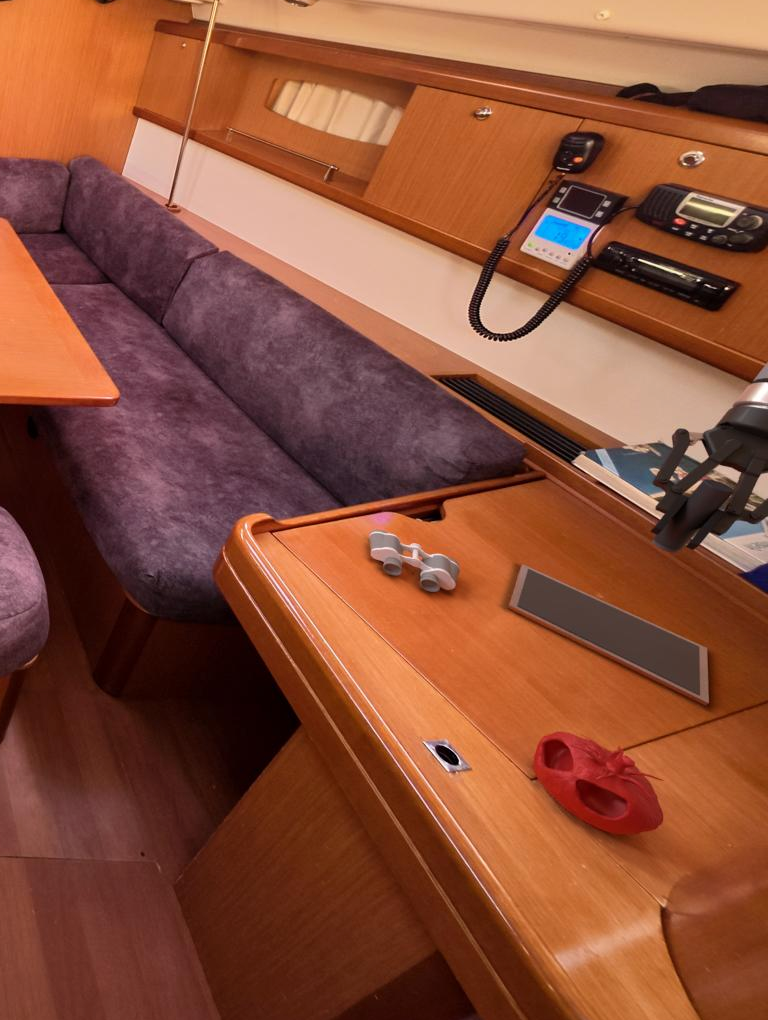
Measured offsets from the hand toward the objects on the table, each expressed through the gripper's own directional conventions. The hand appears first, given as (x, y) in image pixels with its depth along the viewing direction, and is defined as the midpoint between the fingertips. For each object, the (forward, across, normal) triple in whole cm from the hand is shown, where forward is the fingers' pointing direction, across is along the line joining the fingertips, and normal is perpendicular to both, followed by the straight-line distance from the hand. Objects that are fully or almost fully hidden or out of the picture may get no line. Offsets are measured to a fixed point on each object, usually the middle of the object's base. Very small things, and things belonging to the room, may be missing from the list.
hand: (673, 538), depth 94 cm
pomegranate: (+43, +6, -20) cm, 48 cm away
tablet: (+16, 0, +7) cm, 17 cm away
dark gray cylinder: (0, 0, +5) cm, 5 cm away
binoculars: (+25, -20, -3) cm, 32 cm away
